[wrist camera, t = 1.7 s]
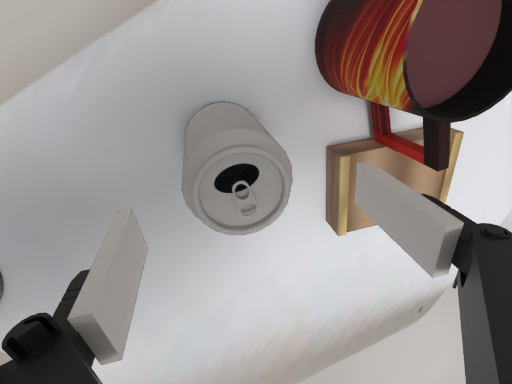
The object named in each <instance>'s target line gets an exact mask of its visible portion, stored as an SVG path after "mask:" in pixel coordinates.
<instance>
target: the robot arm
mask: <svg viewBox="0 0 512 384" xmlns="http://www.w3.org/2000/svg"><path fill="white" fill-rule="evenodd" d="M355 203H356V204H357V205H358V206H359V207H360V208H361V209H362V210H363V211H364V212H365V213H366V214H367V215H368V216H369V217H370V218H371V219H372V220H373V221H374V222H375V223H376V224H378V225H379V226H380V227H381V228H382V229H383V230H384V231H385V232H386V233H387V234H388V235H389V236H390V237H391V238H392V239H393V240H394V241H395V242H396V243H397V244H398V245H399V246H400V247H401V248H402V249H403V250H404V251H405V252H406V253H407V254H408V255H409V256H410V257H412V258H413V259H414V260H415V261H416V262H417V263H418V264H419V265H420V266H421V267H422V268H423V269H424V270H425V271H426V272H427V273H428V274H429V275H430V276H431V277H432V278H434V277H437V276H441V275H445V274H448V273H449V269H450V266H451V263H452V264H453V265H455V266H456V267H457V268H458V272H457V275H456V278H455V281H454V284H453V288H456V286H457V285H458V296H459V307H460V319H461V330H462V341H463V353H464V364H465V376H466V384H512V233H511V232H510V231H508V230H507V229H505V228H502V227H500V226H498V225H493V224H487V223H481V224H477V223H475V222H473V221H472V220H470V219H469V218H467V217H465V216H464V215H462V214H461V213H459V212H457V211H456V210H454V209H451V207H449V206H448V205H446V204H444V203H443V202H441V201H440V200H438V199H437V198H435V197H432V196H429V195H427V194H419V193H418V192H416V191H415V190H413V189H411V188H410V187H408V186H407V185H405V184H404V183H402V182H401V181H399V180H398V179H396V178H395V177H393V176H392V175H390V174H388V173H387V172H385V171H384V170H382V169H381V168H379V167H378V166H376V165H375V164H373V163H372V162H370V161H365V162H360V163H357V172H356V188H355ZM147 251H148V246H147V244H146V242H145V239H144V237H143V235H142V232H141V230H140V227H139V225H138V223H137V220H136V218H135V215H134V213H133V211H132V209H131V210H126V211H121V212H117V214H116V216H115V218H114V221H113V223H112V225H111V227H110V229H109V231H108V233H107V235H106V238H105V240H104V242H103V244H102V246H101V248H100V250H99V252H98V255H97V257H96V259H95V261H94V263H93V265H92V267H91V269H89V270H84V271H81V272H80V273H79V274H78V275H77V276H76V277H75V278H74V279H73V280H72V281H71V283H70V285H69V286H68V288H67V290H66V293H65V294H64V296H63V298H62V301H61V302H60V303H59V305H58V307H57V309H56V311H55V313H54V315H53V317H51V315H49V314H47V313H38V314H35V315H32V316H30V317H28V318H26V319H24V320H22V321H21V322H19V323H18V324H17V325H16V326H14V327H13V328H12V329H11V330H10V331H9V332H8V334H7V335H6V336H5V338H4V340H3V342H2V349H3V350H4V351H5V352H6V353H7V354H8V355H9V356H10V357H11V358H12V359H13V360H11V361H9V362H7V363H5V364H3V365H1V366H0V384H102V382H101V381H100V379H99V378H98V377H97V375H96V374H95V372H94V371H93V370H92V368H91V367H92V364H93V361H94V358H95V357H96V359H97V360H98V362H99V363H100V364H101V365H104V364H108V363H111V362H115V361H119V360H122V358H123V353H124V349H125V345H126V341H127V336H128V332H129V328H130V323H131V319H132V315H133V311H134V306H135V302H136V298H137V293H138V289H139V285H140V281H141V276H142V272H143V268H144V263H145V259H146V255H147ZM2 290H3V286H2V280H1V277H0V299H1V296H2Z"/></svg>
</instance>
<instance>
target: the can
mask: <svg viewBox="0 0 512 384" xmlns="http://www.w3.org/2000/svg"><path fill="white" fill-rule="evenodd" d="M292 181H293V179H292V166H291V163H290V161H289V159H288V156H287V154H286V152H285V150H284V149H283V148H282V147H281V146H280V145H279V144H278V143H277V142H276V140H275V139H274V138H273V137H272V136H271V135H270V134H269V133H268V132H267V131H266V130H265V128H264V127H263V126H262V125H261V124H260V123H259V122H258V121H257V120H256V119H255V118H254V117H253V116H252V115H251V114H250V113H249V111H248V110H247V109H245V108H243V107H241V106H239V105H237V104H233V103H226V102H220V103H214V104H209V105H208V106H206V107H204V108H202V109H201V110H199V111H198V112H197V113H196V114H195V115H194V116H193V117H192V118H191V120H190V121H189V124H188V126H187V128H186V131H185V142H184V158H183V175H182V192H183V195H184V198H185V201H186V204H187V206H188V207H189V208H190V210H191V211H192V212H193V213H194V215H195V216H196V217H197V218H199V219H200V220H202V221H203V223H204V224H206V225H207V226H209V227H210V228H212V229H213V230H215V231H218V232H221V233H224V234H228V235H246V234H250V233H254V232H257V231H259V230H261V229H263V228H265V227H267V226H269V225H270V224H271V223H272V222H273V221H275V220H276V219H277V218H278V217H279V216H280V215H281V213H282V211H283V210H284V208H285V207H286V205H287V203H288V199H289V195H290V191H291V185H292Z"/></svg>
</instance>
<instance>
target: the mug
mask: <svg viewBox="0 0 512 384" xmlns="http://www.w3.org/2000/svg"><path fill="white" fill-rule="evenodd" d="M315 55H316V61H317V65H318V68H319V70H320V73H321V75H322V76H323V78H324V79H325V81H326V82H327V83H328V84H329V85H330V86H331V87H332V88H334V89H336V90H337V91H339V92H342V93H345V94H348V95H352V96H355V97H358V98H362V99H365V100H368V101H370V104H371V112H372V120H373V128H374V140H375V141H376V142H378V143H380V144H382V145H384V146H386V147H388V148H390V149H392V150H394V151H396V152H400V153H402V154H404V155H406V156H408V157H410V158H412V159H414V160H416V161H418V162H420V163H422V164H424V165H426V166H428V167H430V168H432V169H433V170H435V171H437V172H439V171H441V170H444V169H447V168H449V158H450V125H451V123H452V122H458V121H464V120H467V119H470V118H472V117H475V116H478V115H479V114H481V113H483V112H485V111H486V110H488V109H490V108H491V107H493V106H494V105H495V104H497V103H498V102H499V101H501V100H502V99H503V98H504V97H505V96H506V95H507V94H508V93H510V92H511V91H512V0H331V1H330V2H329V3H328V5H327V6H326V8H325V10H324V12H323V14H322V16H321V19H320V22H319V25H318V28H317V33H316V38H315ZM389 107H392V108H395V109H398V110H402V111H405V112H408V113H412V114H415V115H418V116H422V117H423V140H424V146H421V145H419V144H417V143H414V142H412V141H409V140H407V139H405V138H402V137H400V136H398V135H395V134H393V133H391V127H390V117H389Z"/></svg>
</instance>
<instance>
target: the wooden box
mask: <svg viewBox="0 0 512 384" xmlns="http://www.w3.org/2000/svg"><path fill="white" fill-rule="evenodd" d="M394 134H395V135H398V136H400V137H402V138H405V139H407V140H409V141H412V142H414V143H417V144H419V145H421V146H424V140H423V128H419V129H414V130H409V131H404V132H399V133H394ZM463 134H464V132H462V131H459V130H456V129H452V128H450V158H449V168H447V169H444V170H441V171H439V172H437V171H435V170H433V169H432V168H430V167H428V166H426V165H424V164H422V163H420V162H418V161H416V160H414V159H412V158H410V157H408V156H406V155H404V154H402V153H400V152H396V151H394V150H392V149H390V148H388V147H386V146H384V145H382V144H380V143H378V142H376V141H375V140H374V138H369V139H365V140H360V141H355V142H350V143H345V144H340V145H335V146H330V147H327V165H326V221H327V222H328V224H329V225H330V226H331V227H332V229H333V230H334V231H335V233H336V234H337V235H338V236H341V235H345V234H346V232H350V231H354V230H358V229H362V228H366V227H370V226H375V225H378V224H376V223H375V222H374V221H373V220H372V219H371V218H370V217H369V216H368V215H367V214H366V213H365V212H364V211H363V210H362V209H361V208H360V207H359V206H358V205H357V204H356V203H355V188H356V172H357V163H360V162H365V161H370V162H372V163H373V164H375V165H376V166H378V167H379V168H381V169H382V170H384V171H385V172H387V173H388V174H390V175H392V176H393V177H395V178H396V179H398V180H399V181H401V182H402V183H404V184H405V185H407V186H408V187H410V188H411V189H413V190H415V191H416V192H418V193H419V194H427V195H429V196H432V197H435V198H437V199H438V200H440V201H441V202H443V203H444V204H445V203H446V199H447V195H448V191H449V187H450V184H451V180H452V176H453V172H454V168H455V164H456V161H457V157H458V153H459V149H460V145H461V141H462V138H463Z"/></svg>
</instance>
